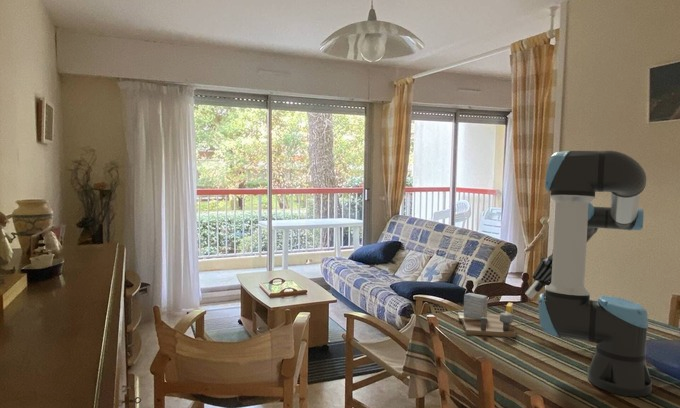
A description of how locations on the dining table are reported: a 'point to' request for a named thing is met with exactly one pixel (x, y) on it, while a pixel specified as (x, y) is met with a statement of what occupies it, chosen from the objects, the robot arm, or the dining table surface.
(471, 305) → the medicine box
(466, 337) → the dining table surface
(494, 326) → the lock plate
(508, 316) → the latch arm
